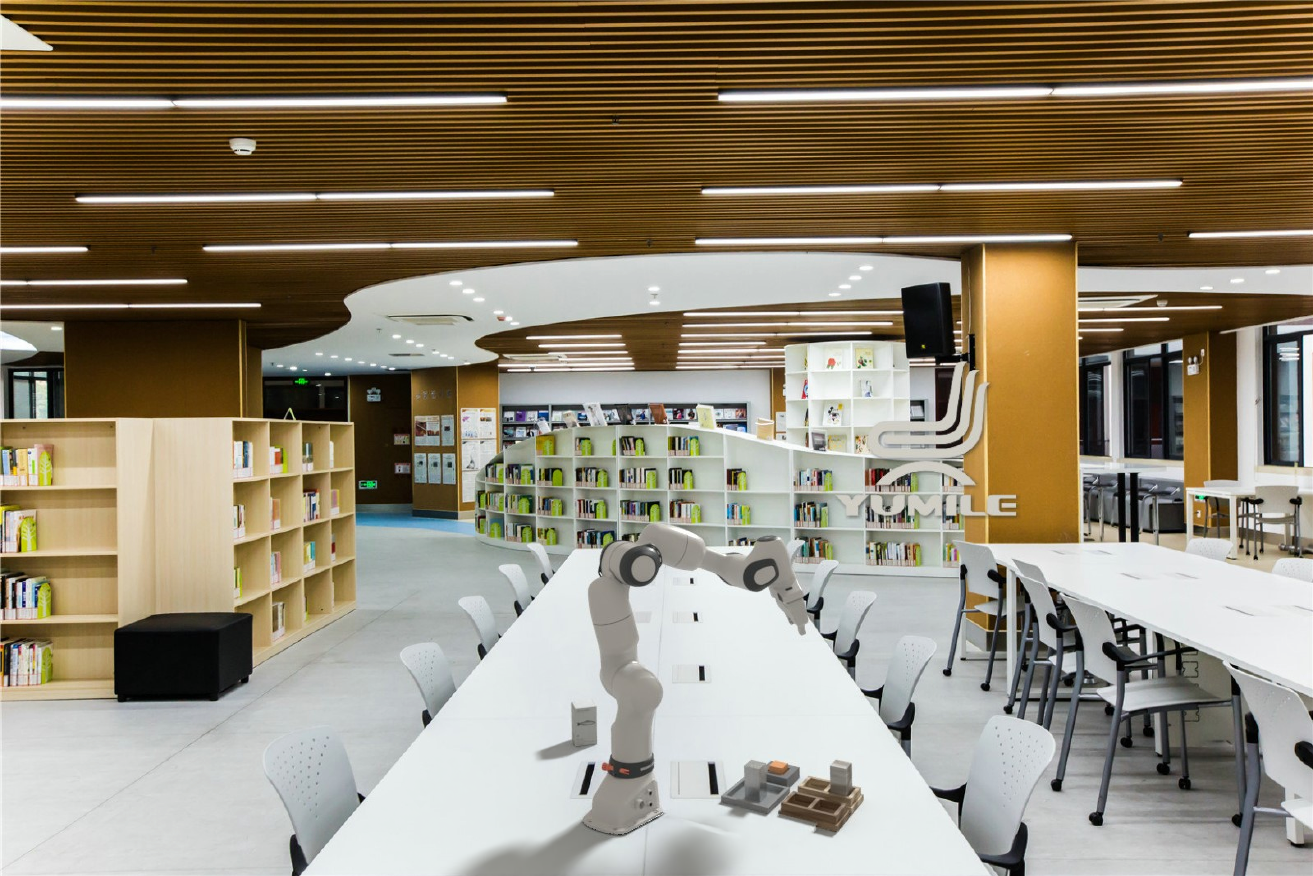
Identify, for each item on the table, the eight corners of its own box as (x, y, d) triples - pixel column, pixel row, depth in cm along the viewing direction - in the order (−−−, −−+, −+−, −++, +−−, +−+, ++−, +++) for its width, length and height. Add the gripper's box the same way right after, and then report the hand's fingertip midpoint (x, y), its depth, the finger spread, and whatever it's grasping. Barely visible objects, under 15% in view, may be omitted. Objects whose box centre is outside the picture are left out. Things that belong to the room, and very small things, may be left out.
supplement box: (575, 747, 260) (574, 708, 260) (571, 739, 267) (570, 701, 267) (597, 744, 262) (596, 706, 262) (593, 736, 269) (592, 698, 269)
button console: (787, 793, 224) (786, 779, 224) (757, 786, 229) (757, 772, 229) (799, 781, 232) (799, 767, 232) (771, 774, 237) (770, 760, 237)
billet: (759, 802, 217) (759, 769, 217) (744, 798, 220) (743, 765, 219) (766, 795, 221) (766, 763, 221) (751, 792, 223) (750, 759, 223)
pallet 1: (851, 814, 211) (851, 774, 211) (795, 800, 220) (794, 761, 220) (863, 799, 219) (862, 761, 219) (808, 786, 228) (807, 749, 228)
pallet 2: (837, 832, 202) (836, 818, 202) (778, 816, 211) (778, 803, 211) (849, 816, 210) (849, 803, 210) (792, 802, 219) (792, 789, 219)
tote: (768, 817, 210) (768, 808, 210) (721, 805, 218) (720, 796, 218) (790, 796, 222) (789, 787, 222) (744, 785, 230) (744, 776, 230)
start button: (782, 779, 228) (782, 768, 228) (769, 776, 230) (769, 765, 230) (788, 773, 231) (787, 763, 231) (775, 770, 233) (775, 760, 233)
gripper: (764, 580, 248) (777, 621, 250) (784, 600, 228) (798, 644, 230) (782, 573, 249) (796, 613, 251) (804, 592, 229) (819, 636, 231)
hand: (797, 628), depth 240 cm, fingers open, 8 cm apart
